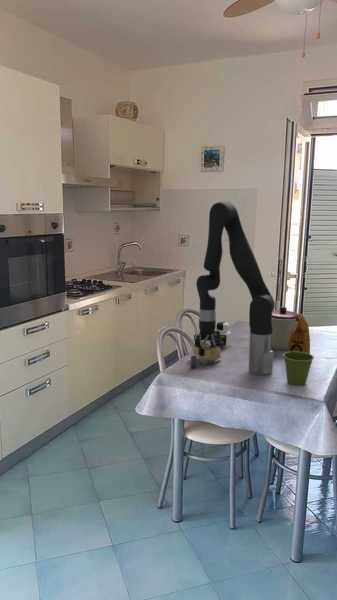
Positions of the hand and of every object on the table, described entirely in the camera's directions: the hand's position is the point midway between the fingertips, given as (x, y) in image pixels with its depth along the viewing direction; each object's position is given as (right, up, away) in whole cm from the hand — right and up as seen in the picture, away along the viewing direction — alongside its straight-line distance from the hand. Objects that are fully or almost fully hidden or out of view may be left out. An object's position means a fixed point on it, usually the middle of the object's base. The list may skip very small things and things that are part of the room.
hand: (206, 354), depth 211 cm
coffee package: (+41, -4, -2) cm, 41 cm away
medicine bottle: (+10, +1, +25) cm, 27 cm away
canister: (+40, +1, +23) cm, 46 cm away
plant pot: (+34, -9, -26) cm, 43 cm away
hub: (0, -3, +1) cm, 3 cm away
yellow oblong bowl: (0, -1, 0) cm, 1 cm away
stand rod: (-6, -5, -9) cm, 12 cm away
